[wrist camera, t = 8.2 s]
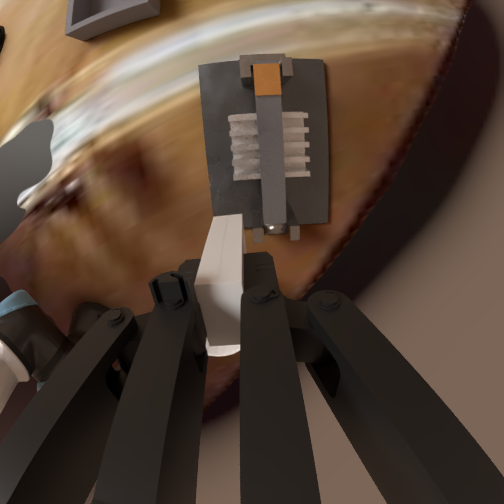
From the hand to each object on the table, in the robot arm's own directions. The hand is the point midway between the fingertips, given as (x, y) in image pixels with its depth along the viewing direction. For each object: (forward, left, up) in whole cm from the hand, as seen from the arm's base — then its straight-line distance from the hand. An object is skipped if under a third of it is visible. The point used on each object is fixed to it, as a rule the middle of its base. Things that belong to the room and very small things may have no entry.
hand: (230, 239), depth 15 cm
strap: (+4, +3, -21) cm, 22 cm away
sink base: (+4, +3, -28) cm, 28 cm away
